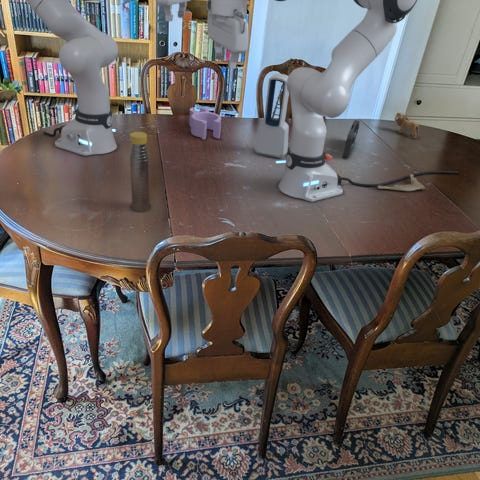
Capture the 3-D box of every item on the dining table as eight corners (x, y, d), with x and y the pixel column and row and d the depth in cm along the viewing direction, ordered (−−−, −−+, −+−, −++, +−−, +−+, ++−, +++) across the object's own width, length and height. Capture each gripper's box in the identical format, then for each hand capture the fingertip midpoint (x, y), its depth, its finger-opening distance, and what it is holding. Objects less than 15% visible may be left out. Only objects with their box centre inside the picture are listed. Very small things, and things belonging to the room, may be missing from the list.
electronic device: (287, 153, 187) (299, 77, 171) (282, 160, 181) (294, 81, 165) (257, 147, 190) (266, 71, 174) (252, 153, 184) (260, 75, 167)
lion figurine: (389, 131, 223) (394, 112, 218) (394, 128, 227) (399, 110, 222) (418, 140, 216) (424, 121, 211) (422, 137, 219) (428, 119, 214)
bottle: (148, 202, 143) (147, 132, 131) (149, 210, 139) (148, 139, 127) (131, 203, 142) (128, 132, 130) (132, 211, 138) (130, 139, 126)
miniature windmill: (286, 130, 210) (297, 60, 194) (268, 127, 211) (277, 58, 195) (288, 124, 218) (299, 56, 202) (271, 121, 219) (279, 54, 203)
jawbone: (429, 189, 172) (431, 184, 171) (394, 201, 161) (396, 196, 160) (410, 177, 177) (412, 172, 176) (375, 189, 167) (376, 184, 165)
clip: (182, 123, 206) (183, 107, 202) (209, 122, 210) (210, 106, 207) (197, 140, 191) (197, 123, 187) (225, 138, 195) (226, 122, 191)
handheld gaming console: (349, 160, 187) (354, 136, 182) (342, 158, 188) (347, 134, 183) (355, 142, 206) (361, 119, 201) (349, 140, 207) (354, 118, 201)
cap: (146, 138, 132) (146, 131, 131) (148, 144, 128) (147, 137, 127) (129, 138, 131) (129, 131, 130) (131, 144, 127) (130, 137, 126)
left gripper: (179, -35, 146) (178, 14, 153) (151, -33, 129) (151, 21, 136) (198, -32, 144) (196, 17, 152) (172, -31, 128) (171, 24, 135)
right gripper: (257, 14, 111) (251, 73, 119) (226, 1, 127) (222, 55, 134) (233, 13, 109) (228, 74, 116) (204, 0, 124) (201, 55, 132)
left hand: (175, 19), depth 144 cm, fingers open, 8 cm apart
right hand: (225, 63), depth 125 cm, fingers open, 8 cm apart
